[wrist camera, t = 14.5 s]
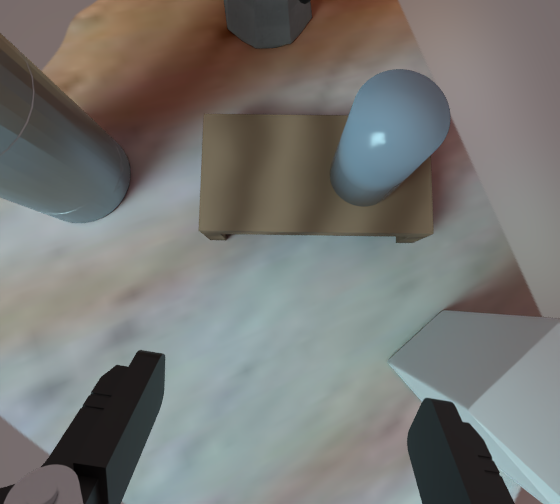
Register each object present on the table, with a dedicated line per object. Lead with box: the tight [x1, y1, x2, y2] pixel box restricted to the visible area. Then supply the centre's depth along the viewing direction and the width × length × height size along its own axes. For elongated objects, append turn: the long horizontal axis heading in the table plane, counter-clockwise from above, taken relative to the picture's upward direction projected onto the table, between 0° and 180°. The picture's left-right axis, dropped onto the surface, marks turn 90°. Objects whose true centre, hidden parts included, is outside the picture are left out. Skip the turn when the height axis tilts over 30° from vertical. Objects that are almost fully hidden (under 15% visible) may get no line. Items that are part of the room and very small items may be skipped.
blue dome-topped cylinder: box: [330, 69, 450, 207], centre depth 26 cm, size 6×6×10 cm
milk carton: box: [388, 310, 560, 504], centre depth 24 cm, size 7×7×19 cm
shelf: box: [199, 114, 433, 243], centre depth 33 cm, size 19×10×5 cm, turn 89°
